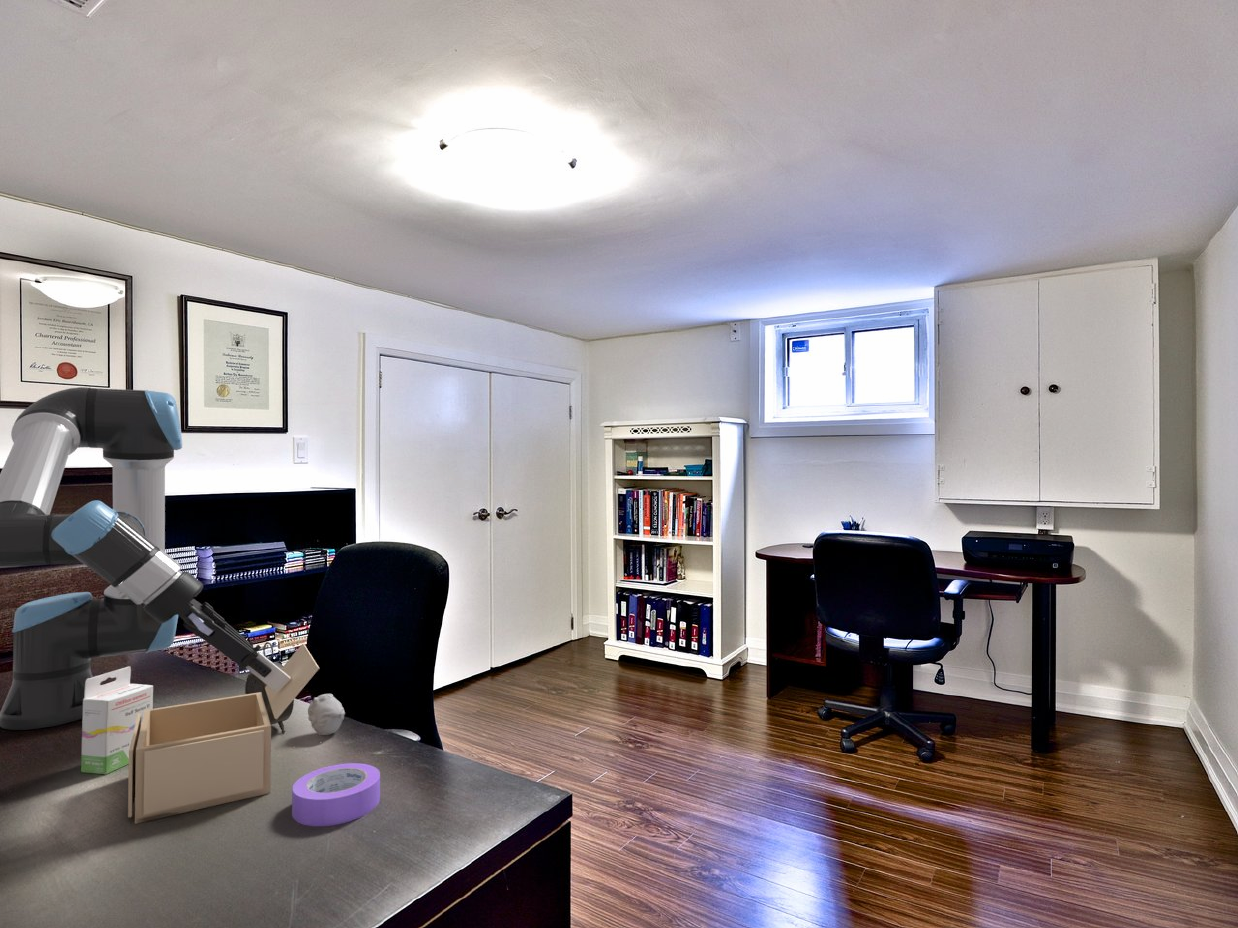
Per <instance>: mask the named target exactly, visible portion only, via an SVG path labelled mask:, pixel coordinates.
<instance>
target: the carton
mask: <svg viewBox="0 0 1238 928" xmlns="http://www.w3.org/2000/svg"><path fill="white" fill-rule="evenodd" d="M271 747H272V725H271V724H270V720H269V717H268V714H267V710H266V707H265V704H264V700H263V697H262V693H261V692H259V693H252V694H246V695H245V694H241V695H233V696H227V697H221V698H214V699H207V700H201V701H194V702H188V703H183V704H182V703H181V704H174V705H169V706H163V707H162V706H161V707H156V708H153V709H148V710H144V715H143V719H142V724H141V713H138V716H137V720H136V724H135V728H134V732H133V736H132V741H131V745H130V749H129V764H128V786H127V787H128V793H127V795H128V796H127V799H128V802H127V803H128V804H127V817H128V818H131V817H133V812H134V824H140V823H143V822H145V823H146V822H149V821H152V820H157V819H162V818H166V817H171V816H176V815H179V814H183V813H189V812H192V811H193V812H194V811H197V810H201V809H206V808H211V807H215V806H218V805H219V806H220V805H223V804H228V803H232V802H236V801H242V800H245V799H249V798H250V799H251V798H255V797H258V796H262V795H267V794H271V782H272V781H271V778H272V777H271V775H272V774H271V773H272V771H271V770H272V769H271V766H272V764H271V763H272V762H271V759H272V748H271Z"/></svg>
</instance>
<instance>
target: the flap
mask: <svg viewBox="0 0 1238 928" xmlns="http://www.w3.org/2000/svg"><path fill="white" fill-rule="evenodd" d="M281 670H282V671H284V672H285V673H286V674H287V675H288V676H290V678H291V679H290V680H289V681H288V682H287V683H286V684H285V685H284V686H283V687H282V688H281V689H280V690H279V691H278V692H276V691H274V690H273V689H272V688H271V687H269V686H268V685H267V686H266V687H265V690H266V693H267V696H268V699H269V702H270V705H271V709H272V712H273V715H274V718H275V719H278V717H279V716H280V715H281V714H282V713H283V711H284V710H285V709H286V708H287V707H288V705H289V704H290V703H291V702H292V701H293V699H294V700H295V699H296V697H297V696H298V695H299V694H300V692H301V691H302V690H303V689H304V687H305V686H306V685H307V684H308V683H309V681H310V680H311V679H312V678H313V677H314V675H315V674H316V673H317V672H319V670H320V667H319V665H318V664H317V662H316V660H315V659H314V657H313V655H312V653H310V651H309V650H308V648H307V646H306V645H305V643H302V644H300V646H299V647H298V648H297V650H296V651H295V652H294V653H293V654H292V656H291V657H289V659H288V660H287V661H286V662H285V664H283V667H282V668H281Z"/></svg>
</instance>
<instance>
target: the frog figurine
mask: <svg viewBox="0 0 1238 928" xmlns="http://www.w3.org/2000/svg"><path fill="white" fill-rule="evenodd" d="M307 714H308V718H307V719H308V721H309V722H310V725H311V727H312V728H313V730H314V731H315V733H317V734H319V735H321V736H328V735H331V734H333V733H335V732H336V731H338V730H339V729H340V727H341V725H342V722H343V720H344V719H345V715H346V712H345V709H344V707H343V705H342V703H341V702H340V701H339V700H338V699H337V698H336V697H335V696H334V695H333V694H332V693H324V694H320V695H318V696H317V697H315V696H314V697H313V699H312V701H311V702H310V703H309V706H308V708H307Z"/></svg>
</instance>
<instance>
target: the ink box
mask: <svg viewBox="0 0 1238 928" xmlns="http://www.w3.org/2000/svg"><path fill="white" fill-rule="evenodd" d="M131 668H132V667H131V666H126V667H122V668H119V669H116V670H112V671H109V672H108V671H107V672H105V673H103V674H100V675H99V674H98V675H95V676H93V677H92V678H88V679H87V680H86V681H85V691H84V699H83V718H82V721H81V723H82V728H81V729H82V730H81V762H80V765H81V766H80V767H81V769H80V772H81V773H86V774H87V773H89V774H95V775H96V774H98V775H108V774H110V773H112V772H114V771H117V770H119V769H120V768H124V767H125V766H129V749H130V745H131V741H132V736H133V732H134V728H135V724H136V720H137V716H138V713H141V724H142V719H143V715H144V710H148V709H154V708H153V707H154V706H153V705H154V701H153V700H154V685H151V684H141V683H131V674H132V669H131ZM109 678H110V679H114V678H115V680H113V681H111V682H108V683H105V684H101V683H102V682H104V681H106V680H107V679H109Z"/></svg>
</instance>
